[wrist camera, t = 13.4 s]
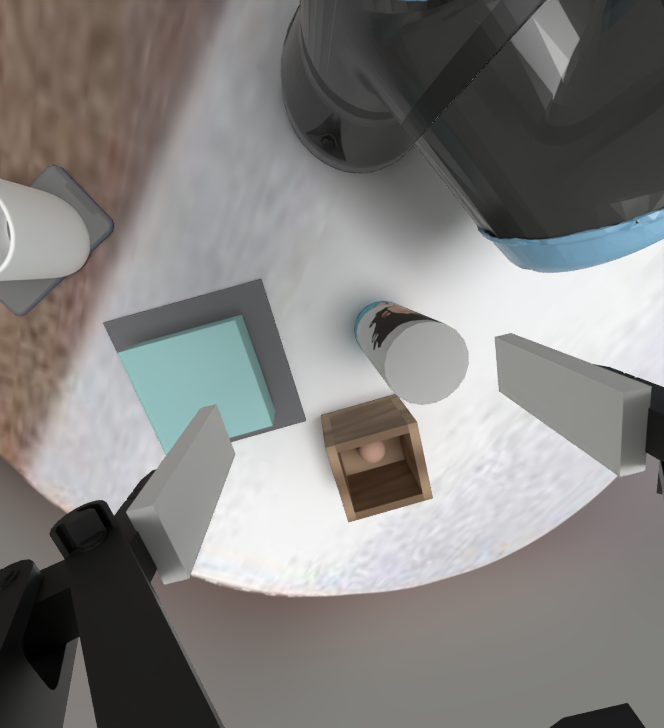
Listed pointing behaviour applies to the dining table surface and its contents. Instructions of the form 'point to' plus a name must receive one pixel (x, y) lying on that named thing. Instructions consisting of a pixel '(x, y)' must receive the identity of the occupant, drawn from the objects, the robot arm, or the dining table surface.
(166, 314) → the mat
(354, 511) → the box
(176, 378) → the lid
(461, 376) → the printed grey cylinder
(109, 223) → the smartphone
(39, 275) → the mug
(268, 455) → the dining table surface
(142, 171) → the dining table surface
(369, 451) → the ball
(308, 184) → the dining table surface
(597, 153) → the robot arm
